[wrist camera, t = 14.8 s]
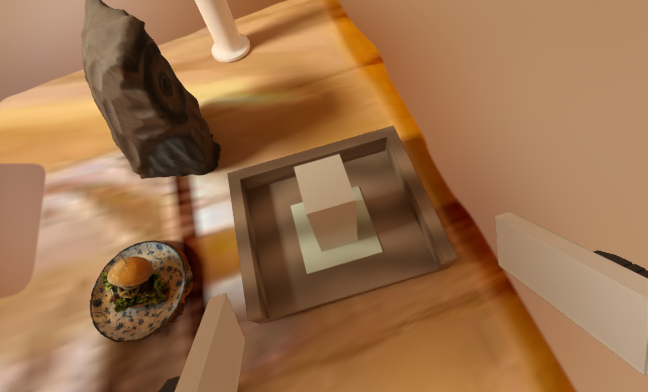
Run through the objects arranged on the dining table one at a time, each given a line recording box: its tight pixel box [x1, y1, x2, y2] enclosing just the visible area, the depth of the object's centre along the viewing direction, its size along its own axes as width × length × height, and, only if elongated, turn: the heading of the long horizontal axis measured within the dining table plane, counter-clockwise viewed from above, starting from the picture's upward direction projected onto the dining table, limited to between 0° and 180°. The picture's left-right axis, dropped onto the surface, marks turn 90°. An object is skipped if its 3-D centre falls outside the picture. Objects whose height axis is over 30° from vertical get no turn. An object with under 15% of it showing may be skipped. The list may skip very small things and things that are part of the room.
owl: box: [81, 0, 221, 179], centre depth 38 cm, size 13×13×20 cm
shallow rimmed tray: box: [228, 126, 458, 324], centre depth 37 cm, size 18×22×4 cm
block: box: [294, 154, 358, 252], centre depth 32 cm, size 5×4×11 cm
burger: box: [90, 241, 193, 342], centre depth 35 cm, size 12×12×8 cm
